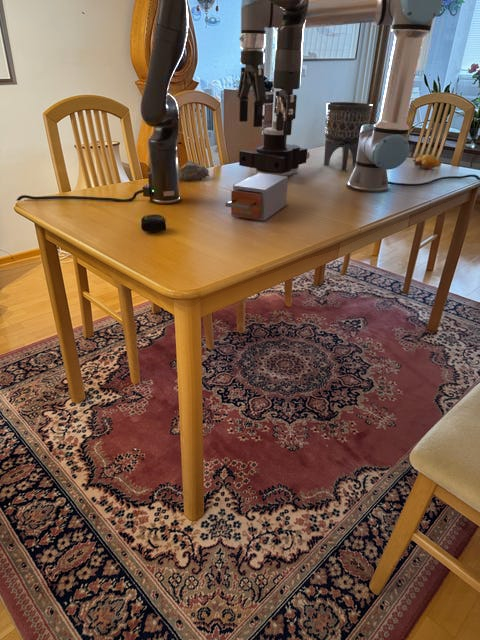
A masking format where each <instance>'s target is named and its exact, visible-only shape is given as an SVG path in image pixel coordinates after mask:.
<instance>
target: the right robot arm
mask: <svg viewBox="0 0 480 640" xmlns="http://www.w3.org/2000/svg"><path fill="white" fill-rule="evenodd" d="M443 2H444V0H309V3H308V10H307V15H306V20H305V25H304V29H310V28H321V27H322V28H323V27H333V26H342V25H355V24H366V23H372V25H374V26H391V28H390V29H391V30H390V32H391V34H392V35H393V37H394V40H393V46H392V50H391V55H390V62H389V67H388V71H387V78H386V84H385V88H384V93H383V99H382V105H381V110H380V115H379V119H378V121H377V122H375V124H374V123H373V124H370V123H369V124H368V125H363V126H362V127H361V131H360V134H359V136H360V137H359V144H358V151H357V158H356V165H355V166H354V167H353V171H351V174H350V176H349V179H348V182H347V187H348V188H349V189H351V190H354V191H358V192H363V193H364V192H365V193H382V192H386V191H388V189H389V185H391V186H400V187H420V186H421V187H423V186H426V185H430V184H433V183H435V182H439V181H441V180H450V179H452V180H453V179H458V180H459V179H466V178H476V179H477V180H478V181H480V176H479V175H477V174H465V175H450V176H441V177H437V178H434V179H432V180H429V181H425V182H419V183H406V182H405V183H403V182H393V181H389V178H388V173H387V172H388V171H387V170H393V169H397V168H399V167H400V166H402V164H403V163H405V162H406V160H407V158H408V157H409V154H410V142H409V141H408V135H409V131H410V126H408V124H407V118H408V112H409V110H410V109H409V108H410V103H411V98H412V95H413V89H414V85H415V80H416V75H417V70H418V67H419V62H420V56H421V51H422V48H423V42H424V39H425V38H426V37H427V36H428V35H429V34H430V33H431V29H432V26H433V21H434V20H435V18H436V17H437V15H438V14H439V12H440V10H441V8H442V7H443ZM282 10H283V9H282V8H280V7H278V6H277V5H275V4H273V3H272V2H270V1H268V0H241V7H240V36H239V42H240V49H242V50H241V51H240V52H239V53H240V54H239V56H240V57H239V59H240V60H239V63H240V65H244V66H242V67H241V68H240V76H239V77H240V79H239V83H238V88H237V94H236V95H237V96H236V97H237V99H238V100H239V118H238V119H239V122H240V123H242V122H243V123H244V122H245V123H246V122H248V116H249V115H248V114H249V113H248V112H249V110H248V109H249V101H250V100H249V94H250V90H251V89H252V94H253V98H254V101H253V123H252V124H253V125H252V126H253V128H262V127H263V113H264V104H265V103H267V94H266V85H265V78H264V74H265V71H264V68H262V67H261V68H260V66H263V65H264V64H265V51H264V50H265V49H266V29H267V28H268V29H273V30H274V31H276V32H277V29H278V26H279V25H280V24H281V19H282Z"/></svg>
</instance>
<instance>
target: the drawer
mask: <svg viewBox="0 0 480 640" xmlns="http://www.w3.org/2000/svg"><path fill="white" fill-rule="evenodd" d="M230 195H231V196H230V201H225V204H224V205H225V208H226V207H228V208H230V215H231V216H233V215H235V216H234V217H237V216H241V217H240V218H243V217H247V218H246V219H249V218H253V219H252V220H255V219H260V216H261V199H262V193H259V192H252V191H245V190H238V191H237V190H233V189H232V190H231V191H230Z"/></svg>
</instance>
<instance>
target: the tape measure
mask: <svg viewBox="0 0 480 640" xmlns="http://www.w3.org/2000/svg"><path fill="white" fill-rule="evenodd" d="M166 223H167V222H166V218H165V217H164V215H161V214H154V213H153V214H146V215H144V216H143V217H141V220H140V228H141V230H142V231H144V232H150V233H156V232H164V231H167V224H166Z"/></svg>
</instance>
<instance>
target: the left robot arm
mask: <svg viewBox="0 0 480 640" xmlns="http://www.w3.org/2000/svg"><path fill="white" fill-rule="evenodd" d="M268 1H270V2H272V3H273V4H275V5H277V6H278V7H280V8H282V9H283V10H282V19H281V24H280V25H279V26H278V29H277V31H276V39H275V53H274V59H273V74H272V88H273V89H278V90H276V91H275V97H274V111H273V112H274V114H275V117H276V118H275V119H276V120H275V121H276V130H277V131H283V135H287V136H291V135H292V127H293V121H294V120H295V119H296V117H297V115H296V114H297V99H298V96H297V94H294V90H299V89H300V88H301V78H302V67H303V44H304V43H303V42H304V30H305V28H304V25H305V20H306V15H307V10H308V3H309V0H268ZM188 32H189V9H188V1H187V0H158V2H157V10H156V15H155V20H154V28H153V35H152V44H151V45H152V46H151V49H150V50H151V51H150V57H149V63H148V71H147V75H146V80H145V84H144V88H143V92H142V96H141V100H140V116H141V119H142V120H143V122H144V124H146V126H149V127H151V128H153V131H152V134H151V135H150V136H149V137H148V139H147V149H148V161H149V172H148V173H147V178H148V181H147V182H148V183H147V184H146V185H144V186H142V189H139V190H136V191H135V192H134V193H133V195H132V196H131V197H130V198H117V197H99V196H84V195H83V196H81V195H44V196H43V195H41V196H33V195H27V194H23V195H20V196H18V197H17V199H16V202H19V201H21V200H23V199H27V200H28V199H29V200H39V201H40V200H91V201H106V202H108V201H109V202H110V201H111V202H117V203H118V202H119V203H121V202H123V203H125V202H133V201H135V200H136V198H137V195H139V194H142V196H143V197H146V198H149V202H153V203H155V204H159V205H170V204H171V205H172V204H176V203H178V202H180V185H179V184H180V183H179V180H178V173H179V165H178V140H179V136H180V135H179V134H180V127H179V126H180V120H179V119H180V116H179V106H178V102H177V101H176V98H175V97H173V95H172V94H170V93H168V91H169V87H170V83H171V79H172V77H173V74H174V73H175V71H176V69H177V68H178V65H179V63H180V61H181V59H182V57H183V55H184V51H185V47H186V42H187V38H188Z"/></svg>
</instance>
